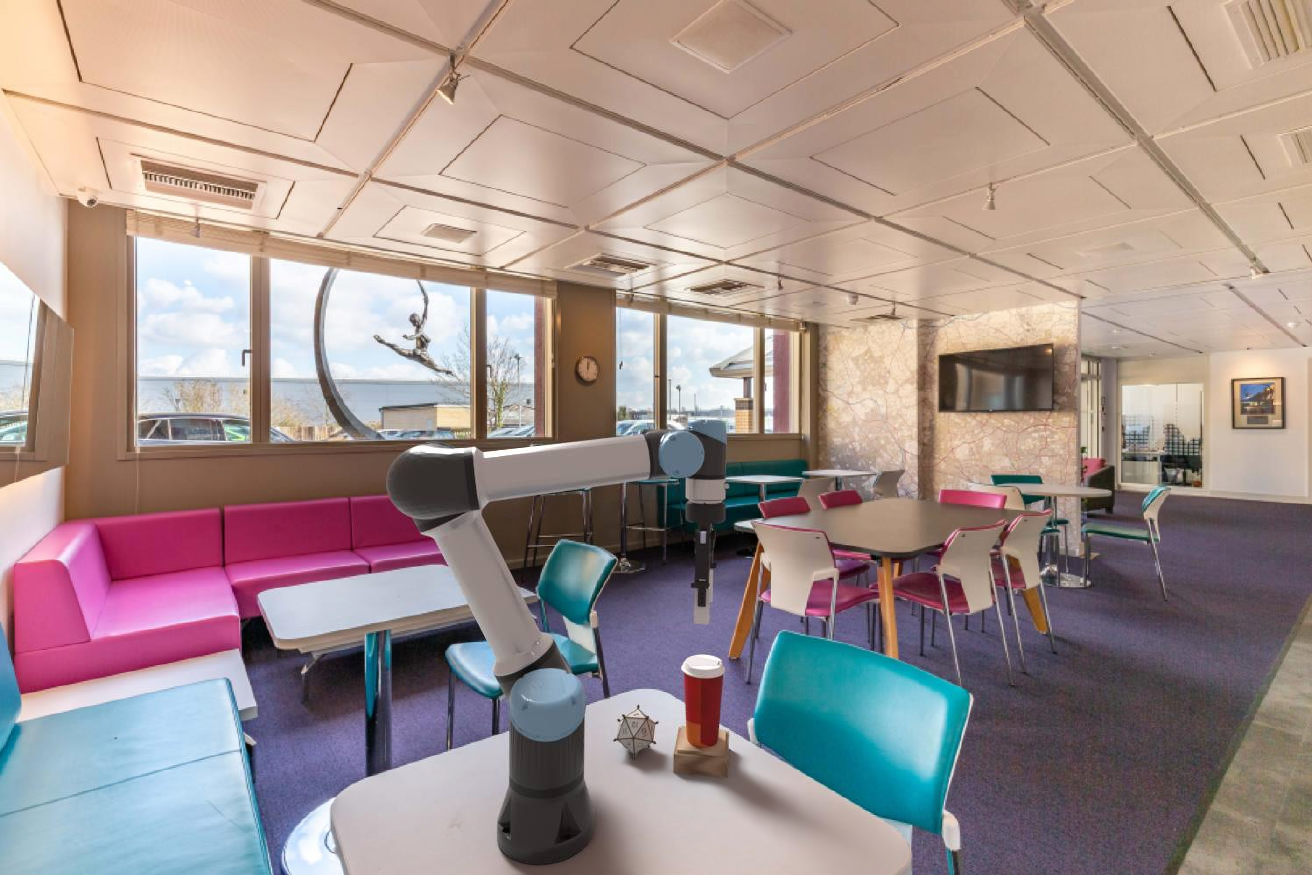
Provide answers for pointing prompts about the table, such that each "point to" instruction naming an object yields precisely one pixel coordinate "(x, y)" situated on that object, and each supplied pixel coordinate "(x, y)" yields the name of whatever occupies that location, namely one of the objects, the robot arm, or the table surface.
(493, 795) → the table surface
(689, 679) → the coffee cup
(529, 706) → the robot arm
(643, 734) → the game die
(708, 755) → the plinth
